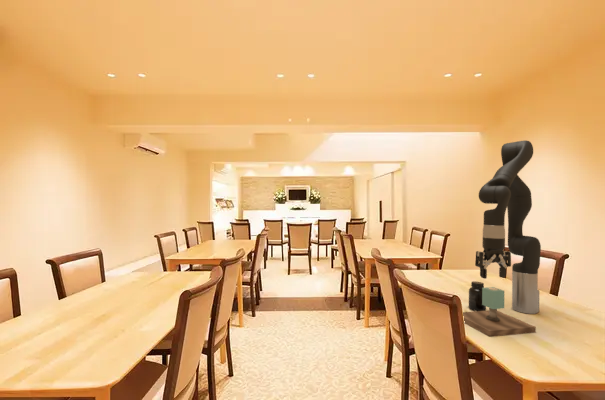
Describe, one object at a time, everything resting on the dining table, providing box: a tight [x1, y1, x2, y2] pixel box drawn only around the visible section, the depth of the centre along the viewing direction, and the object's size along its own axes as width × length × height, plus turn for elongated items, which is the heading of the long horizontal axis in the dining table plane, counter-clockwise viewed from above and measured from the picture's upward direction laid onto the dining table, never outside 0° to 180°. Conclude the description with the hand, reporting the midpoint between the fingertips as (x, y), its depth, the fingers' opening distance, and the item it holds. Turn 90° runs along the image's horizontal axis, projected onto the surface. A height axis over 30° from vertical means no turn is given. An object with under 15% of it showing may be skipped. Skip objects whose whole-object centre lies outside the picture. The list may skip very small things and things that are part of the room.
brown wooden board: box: [463, 307, 537, 337], centre depth 120 cm, size 20×18×9 cm
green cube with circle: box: [482, 286, 505, 310], centre depth 120 cm, size 5×5×7 cm
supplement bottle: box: [468, 280, 487, 312], centre depth 137 cm, size 7×7×12 cm
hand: (492, 277), depth 120 cm, fingers open, 8 cm apart
